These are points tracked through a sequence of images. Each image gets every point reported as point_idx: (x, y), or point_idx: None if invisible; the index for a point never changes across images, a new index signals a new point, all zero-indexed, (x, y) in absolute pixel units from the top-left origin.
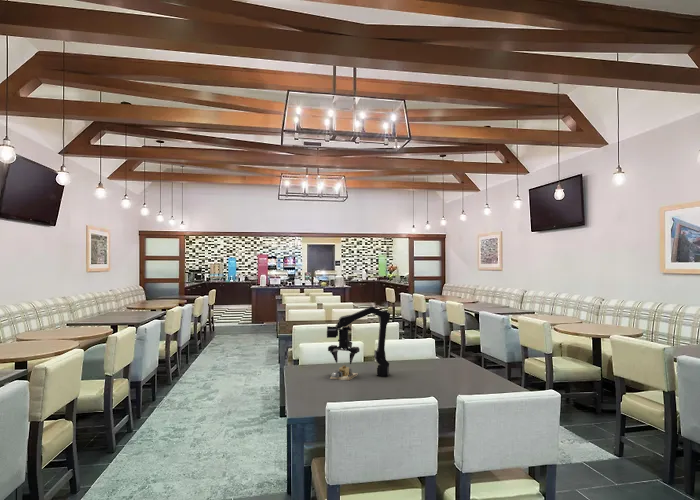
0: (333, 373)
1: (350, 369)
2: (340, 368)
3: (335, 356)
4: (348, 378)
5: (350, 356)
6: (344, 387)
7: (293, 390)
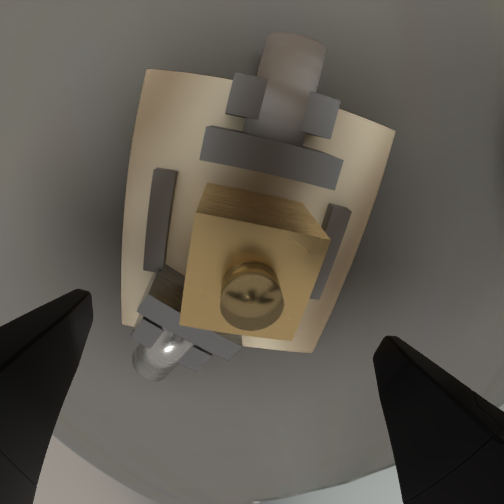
0: (159, 378)
1: (335, 178)
2: (201, 325)
3: (40, 447)
4: (310, 345)
5: (415, 499)
6: (291, 437)
7: (90, 458)
